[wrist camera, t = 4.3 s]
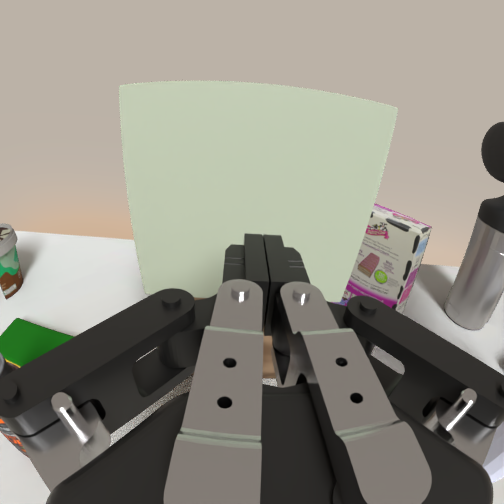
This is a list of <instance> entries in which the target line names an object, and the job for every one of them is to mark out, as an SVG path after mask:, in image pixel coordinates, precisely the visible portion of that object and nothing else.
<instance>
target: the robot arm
mask: <svg viewBox="0 0 504 504" xmlns="http://www.w3.org/2000/svg"><path fill="white" fill-rule="evenodd" d="M481 151H482V159H483V163H484V165H485V168H486V169H487V171H488V172H489V174H490V175H491V176H493V177H494V178H495V179H497V180H499V181H501V182H503V183H504V122H499V123H497V124H495V125H493V126H492V127H491V128H490V129H489V130H488V132H487V133H486V135H485V137H484V139H483V143H482V149H481ZM503 291H504V195H503V196H501V197H498V198H493V199H486V200H484V201H483V202H482V204H481V206H480V209H479V213H478V217H477V220H476V223H475V226H474V230H473V233H472V236H471V239H470V242H469V245H468V248H467V250H466V253H465V256H464V259H463V261H462V264H461V266H460V269H459V272H458V274H457V277H456V279H455V281H454V284H453V286H452V288H451V291H450V293H449V295H448V298H447V300H446V302H445V305H444V308H445V311H446V313H447V314H448V316H449V317H450V318H451V319H452V320H453V321H454V322H456V323H457V324H458V325H460V326H462V327H464V328H467V329H471V330H479V329H481V328H482V327H483V326H484V325H485V323H487V322H488V321H489V319H490V317H491V315H492V313H493V311H494V310H495V308H496V306H497V304H498V302H499V300H500V298H501V295H502V293H503ZM263 330H264V336H272V346H271V357H272V362H273V367H274V371H275V376H276V381H277V386H278V387H275V386H270V385H265V384H262V378H263ZM374 345H376V346H378V347H379V348H381V349H383V350H384V351H386V352H387V353H389V354H390V355H392V356H393V357H395V358H396V359H398V360H399V361H401V362H402V364H403V365H404V368H405V372H404V374H399V373H397V372H395V371H394V370H392V369H391V368H389V367H388V366H386V365H385V364H383V363H382V362H380V361H379V360H377V359H376V358H374V357H373V356H371V355H370V354H371V352H372V350H373V348H374ZM156 347H157V348H156ZM154 348H156V349H155V350H153V349H154ZM151 350H153V351H152V352H150V351H151ZM148 352H150V353H149V354H147V355H146V356H144V357H143V358H141V359H140V360H138V359H139V358H140V357H142V356H143V355H145V354H146V353H148ZM137 360H138V361H137ZM136 361H137V362H136ZM193 373H194V375H193V380H192V384H191V388H190V392H187V393H184V394H181V395H179V396H177V397H175V398H173V399H171V400H170V401H168V402H166V403H165V404H164V405H162V406H161V407H160V408H159V409H157V410H156V411H155V412H154V413H153V414H151V415H150V416H149V417H148V418H146V419H145V420H144V421H143V422H141V423H140V424H139V425H138V426H136V427H135V428H134V429H132V430H131V431H130V432H129V433H127V434H126V435H125V436H123V437H122V438H121V439H120V440H118V441H117V442H116V443H114V444H113V445H112V446H110V443H111V437H110V434H112V433H113V432H114V431H116V430H117V429H119V428H120V427H122V426H123V425H124V424H126V423H127V422H129V421H130V420H131V419H133V418H134V417H136V416H137V415H138V414H140V413H141V412H142V411H144V410H145V409H147V408H148V407H149V406H151V405H152V404H153V403H155V402H156V401H157V400H159V399H160V398H161V397H163V396H164V395H165V394H167V393H168V392H169V391H171V390H172V389H173V388H175V387H176V386H177V385H178V384H180V383H181V382H182V381H184V380H185V379H186V378H188V377H189V376H190V375H191V374H193ZM0 418H1V419H2V420H3V422H4V423H5V424H6V425H7V427H8V428H9V430H10V431H11V432H12V433H13V434H14V435H15V436H16V437H17V438H18V439H19V440H20V441H21V443H22V445H23V447H24V449H25V451H26V453H27V454H28V456H29V458H30V460H31V461H32V463H33V465H34V466H35V468H36V470H37V471H38V473H39V475H40V476H41V478H42V479H43V481H44V482H45V484H46V486H47V487H48V488H49V490H50V491H51V494H50V495H49V497H48V499H47V502H46V504H492V503H493V486H492V482H491V479H490V477H489V475H488V473H487V471H486V470H485V469H484V467H483V463H484V461H485V459H486V456H487V454H488V451H489V448H490V446H491V443H492V440H493V438H494V435H495V432H496V429H497V428H498V427H499V426H500V425H501V424H502V423H503V422H504V375H502V374H501V373H499V372H497V371H496V370H494V369H492V368H491V367H489V366H488V365H486V364H484V363H483V362H481V361H479V360H478V359H476V358H475V357H473V356H471V355H470V354H468V353H466V352H465V351H463V350H461V349H460V348H458V347H456V346H455V345H453V344H451V343H450V342H448V341H447V340H445V339H443V338H441V337H440V336H438V335H436V334H435V333H433V332H431V331H430V330H428V329H426V328H425V327H423V326H421V325H420V324H418V323H416V322H415V321H413V320H411V319H409V318H408V317H406V316H404V315H403V314H401V313H399V312H398V311H396V310H394V309H392V308H391V307H389V306H387V305H386V304H384V303H382V302H380V301H379V300H377V299H375V298H372V297H369V296H362V295H360V296H354V297H352V298H350V299H349V301H348V303H347V306H344V305H339V304H335V303H331V302H328V301H326V300H325V298H324V296H323V294H322V292H321V291H320V290H319V289H318V288H317V287H315V286H314V285H312V284H311V283H310V280H309V277H308V274H307V272H306V269H305V266H304V263H303V260H302V257H301V255H300V253H299V252H298V251H297V250H295V249H294V248H293V247H284V244H283V240H282V237H281V235H267V234H263V236H262V234H248V233H245V234H244V245H236V244H231V245H230V246H229V247H228V248H227V249H226V250H225V259H224V269H223V280H222V285H221V286H220V287H219V289H218V293H217V294H215V295H214V296H211V297H209V298H205V299H200V300H194V297H193V296H192V295H191V294H190V293H189V292H187V291H185V290H182V289H177V288H169V289H163V290H160V291H158V292H156V293H154V294H152V295H151V296H149V297H147V298H145V299H143V300H141V301H139V302H138V303H136V304H134V305H132V306H130V307H128V308H127V309H125V310H123V311H121V312H119V313H117V314H116V315H114V316H112V317H110V318H108V319H106V320H105V321H103V322H101V323H99V324H97V325H95V326H94V327H92V328H90V329H88V330H86V331H85V332H83V333H81V334H79V335H77V336H75V337H74V338H72V339H70V340H68V341H66V342H65V343H63V344H61V345H59V346H57V347H56V348H54V349H52V350H50V351H48V352H47V353H45V354H43V355H41V356H39V357H38V358H36V359H34V360H32V361H30V362H29V363H27V364H25V365H23V366H22V367H20V368H18V369H16V370H14V371H13V372H11V373H9V374H7V375H6V376H4V377H2V378H1V379H0Z"/></svg>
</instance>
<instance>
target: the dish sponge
mask: <svg viewBox="0 0 504 504" xmlns="http://www.w3.org/2000/svg"><path fill="white" fill-rule="evenodd" d="M72 338H74V337H73V336H70V335H67V334H64V333H60V332H57V331H54V330H51V329H48V328H45V327H42V326H39V325H36V324H33V323H31V322H28V321H25V320H22V319H20V318H17V319H15V320H14V321H13V322H12V323H11V324H10V326H9V327H8V328H7V329H6V330H5V331H4V332H3V334H2V335H1V336H0V353H1V354H2V355H3V357H4V358H5V360H6V361H7V362H9V363H12V364H14V365H16V366H18V367H19V368H20V367H22V366H23V365H25V364H27V363H29V362H30V361H32V360H34V359H36V358H38V357H39V356H41V355H43V354H45V353H47V352H48V351H50V350H52V349H54V348H56V347H57V346H59V345H61V344H63V343H65V342H66V341H68V340H70V339H72Z"/></svg>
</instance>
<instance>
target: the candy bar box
mask: <svg viewBox="0 0 504 504" xmlns="http://www.w3.org/2000/svg"><path fill="white" fill-rule="evenodd" d="M431 228H432V227H431V226H428V225H426V224H424V223H421V222H419V221H417V220H415V219H412V218H410V217H408V216H405V215H403V214H400V213H398V212H395V211H392V210H390V209H388V208H385V207H382V206H380V205H377V204H375V203H374V206H373V210H372V213H371V216H370V219H369V223H368V226H367V229H366V232H365V235H364V238H363V241H362V244H361V247H360V250H359V253H358V256H357V259H356V261H355V264H354V267H353V270H352V273H351V275H350V278H349V281H348V283H347V286H346V289H345V291H344V294H343V297H342V299H341V302H331V303H335V304H339V305H344V306H347V303H348V301H349V299H350V298H352V297H354V296H360V295H362V296H369V297H372V298H375V299H377V300H379V301H380V302H382V303H384V304H386V305H387V306H389V307H391V308H392V309H394V310H396V311H398V312H399V313H401V314H402V312H403V310H404V307H405V305H406V302H407V300H408V297H409V294H410V292H411V289H412V287H413V284H414V281H415V278H416V275H417V272H418V270H419V267H420V264H421V261H422V258H423V255H424V252H425V248H426V245H427V242H428V239H429V235H430V232H431Z"/></svg>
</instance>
